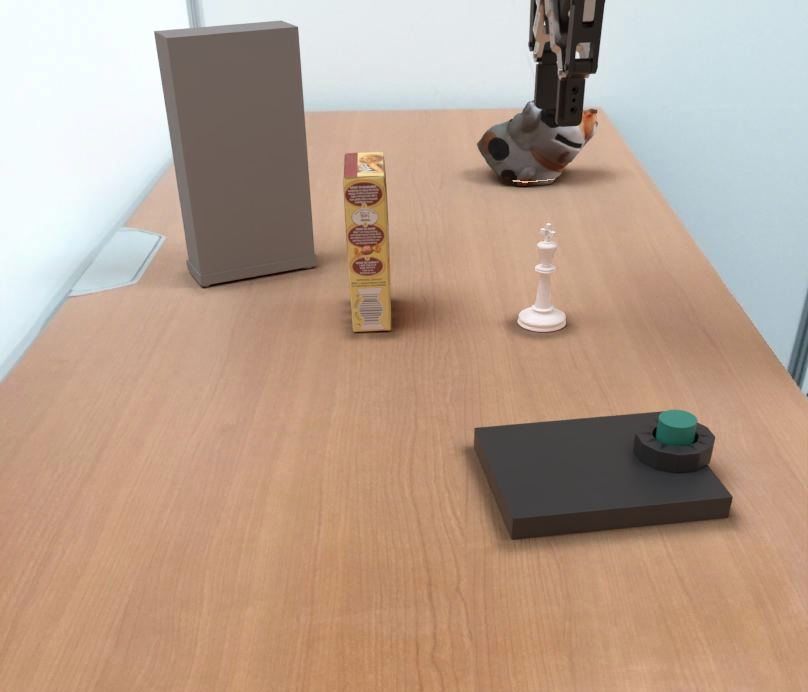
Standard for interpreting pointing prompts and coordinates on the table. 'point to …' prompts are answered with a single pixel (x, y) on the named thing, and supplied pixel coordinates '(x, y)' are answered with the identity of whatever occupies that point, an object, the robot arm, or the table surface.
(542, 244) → the chess piece
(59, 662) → the table surface
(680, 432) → the button
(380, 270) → the candy box
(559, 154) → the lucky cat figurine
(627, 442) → the scale
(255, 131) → the gray rectangular block
